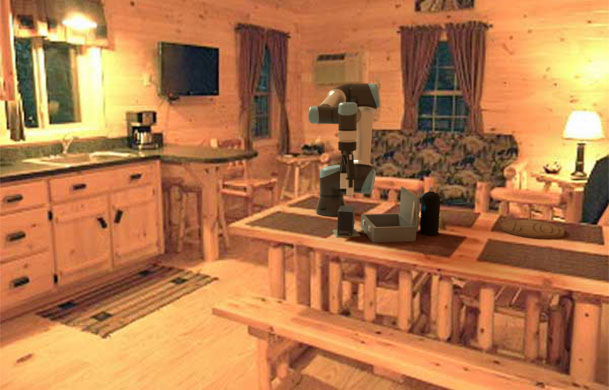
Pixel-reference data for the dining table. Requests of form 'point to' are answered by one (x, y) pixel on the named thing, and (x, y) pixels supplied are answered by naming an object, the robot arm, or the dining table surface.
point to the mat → (346, 235)
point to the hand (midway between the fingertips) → (346, 191)
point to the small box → (346, 220)
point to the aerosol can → (430, 213)
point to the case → (394, 221)
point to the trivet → (532, 229)
